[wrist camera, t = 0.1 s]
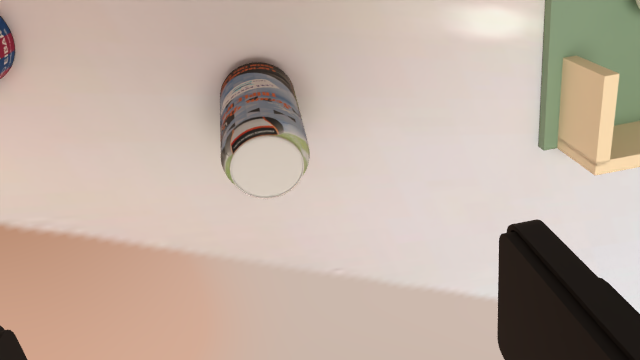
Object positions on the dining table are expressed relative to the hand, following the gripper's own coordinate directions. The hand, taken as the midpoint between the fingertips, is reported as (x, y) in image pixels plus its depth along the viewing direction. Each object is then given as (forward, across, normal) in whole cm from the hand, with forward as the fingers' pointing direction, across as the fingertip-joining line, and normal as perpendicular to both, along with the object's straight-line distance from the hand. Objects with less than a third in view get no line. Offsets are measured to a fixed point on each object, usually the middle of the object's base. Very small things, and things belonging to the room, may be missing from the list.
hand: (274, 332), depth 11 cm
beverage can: (+37, 0, +7) cm, 38 cm away
